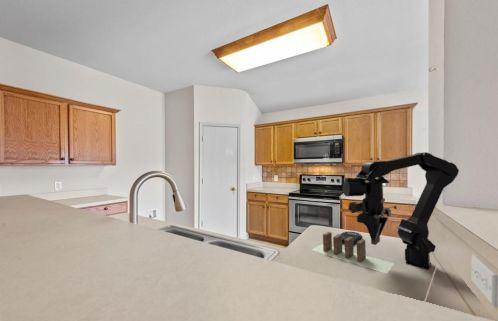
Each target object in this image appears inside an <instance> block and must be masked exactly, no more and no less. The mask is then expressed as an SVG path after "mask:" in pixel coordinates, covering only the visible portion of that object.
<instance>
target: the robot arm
mask: <svg viewBox="0 0 498 321" xmlns="http://www.w3.org/2000/svg"><path fill="white" fill-rule="evenodd" d="M414 166H418V167H419V168H420V169H421V170H422V171H424V172H425V175H424V177H425V181H426V184H425V185H424V188H423V189H422V192H421V194H420V197H419V198H418V201H417V203H416V205H415V207H414V209H413V211H412V214H411V215H410V217H409V218H407V219H404V218H402V219H401V220H400V224H399V225H398V226H397V227H396V228H397V229H398V230H397V234H398V236H399V238H400V239H401V241H402V243H403V244H405V245H406V247H405V249H404V260H405V264H406V265H409V266H413V267H416V268H421V269H424V270H427V271H428V270H430V268H431V265H432V262H431V253H434V252H435V250H436V247H437V246H436V245H435V244H434V243H433V242H432V241H431V240H430V239H429V234H430V231H429V227H428V223H429V221H430V219H431V217H432V215H433V212H434V211H435V209H436V207H437V204H438V202H439V199H440V197H441V195H442V192H443V191H444V188H446V187H447V186H449V185H450V184H451V183H453V182H454V181H455V179H456V178H457V177H458V175H459V171H460V169H459V168H458V166H457V165H456V164H455V163H454V162H449V161H448V160H446V159H444V158H440V157H438V156H435V155H434V154H432V153H430V152H427V151H426V152H416V153H414V154H411V155H410V154H409V155H406V156H401V157H396V158H392V159H389V160H379V161H378V160H376V161H366V162H364V163H362V165H361V168H360V171H359V172H358V173H357V175H356V176H355V177H345V178H344V181H343V184H342V186H341V187H342V188H341V189H342V192H343V193H342V194H343V195H344V196H345V197H363V196H364V198H362V201H359V202H356V201H352V202H351V201H350V202H349V203H348V208H347V209H348V211H350V212H351V214H355V213H359V212H360V213H359V214H358V215H357V216H356V222H357V223H358V224H359V223H360V224H361V223H362V224H363V225H365V227H366V228H367V231H368V234H369V236H370V239H371V240H373V241H375V240H376V237H377V234H378V232H379V231H380V236H381V235H382V233H383V231H384V228H385V226H386V224H387V222H388V220H389V217H391V216H392V209H390V208H389V207H384V206H385V205H384V202H386V201H385V200H386V198H384V187H383V186H384V185H383V184H389V183H390V181H389V180H388V179H386V178H385V177H384V176H386V175H389V174H391V173H392V172H393V171H396V170H401V169H405V168H409V167H414ZM385 215H386V216H385ZM371 240H370V241H371Z"/></svg>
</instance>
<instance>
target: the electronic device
mask: <svg viewBox="0 0 498 321" xmlns="http://www.w3.org/2000/svg"><path fill="white" fill-rule="evenodd" d="M340 234H341V235H342V241H344V240H345V239H346V238H348V237H353V245H355V244H357V242H358V241H360V240H361V239H363V238H364V237H363V235H361V234H360V233H359V232H357V231H343V232H341V233H340Z"/></svg>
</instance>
